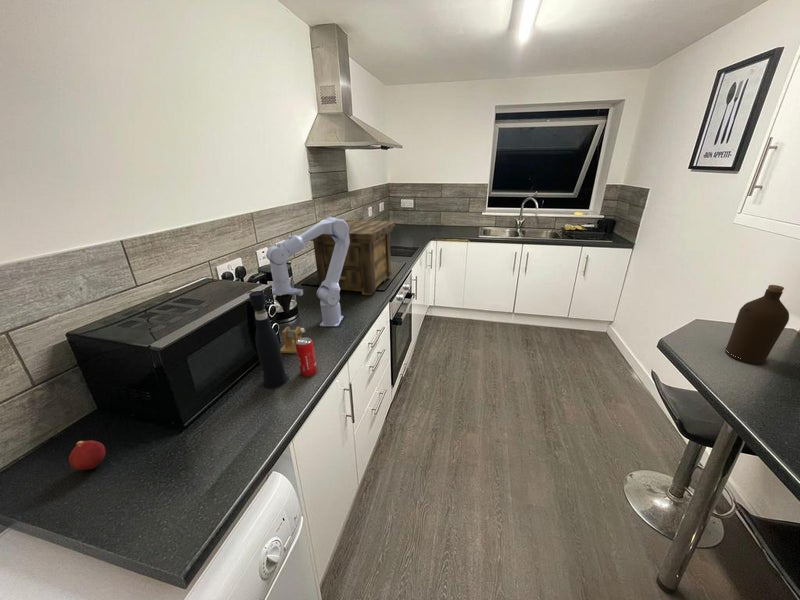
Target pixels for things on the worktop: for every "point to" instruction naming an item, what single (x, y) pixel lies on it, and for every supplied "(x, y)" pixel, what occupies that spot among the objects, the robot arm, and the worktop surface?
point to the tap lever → (290, 332)
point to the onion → (87, 455)
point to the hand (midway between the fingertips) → (287, 312)
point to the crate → (358, 256)
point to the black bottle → (267, 344)
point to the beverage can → (306, 356)
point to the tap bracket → (290, 340)
